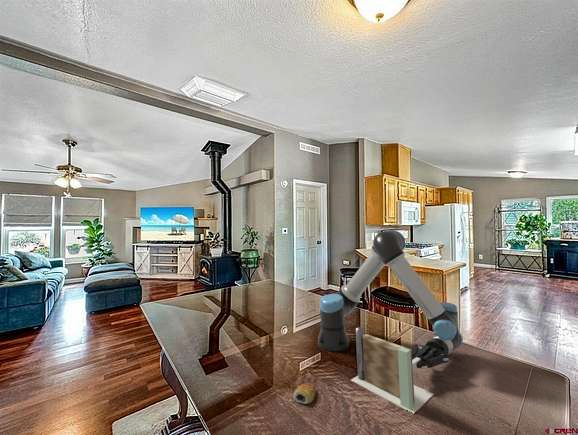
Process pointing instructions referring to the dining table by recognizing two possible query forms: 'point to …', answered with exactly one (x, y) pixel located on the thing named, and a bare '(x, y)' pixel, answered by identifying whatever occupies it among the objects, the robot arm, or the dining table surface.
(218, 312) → the dining table surface
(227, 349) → the dining table surface
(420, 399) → the mat
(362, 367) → the hinge post
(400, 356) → the latch post
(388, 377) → the gate
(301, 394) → the pastry
